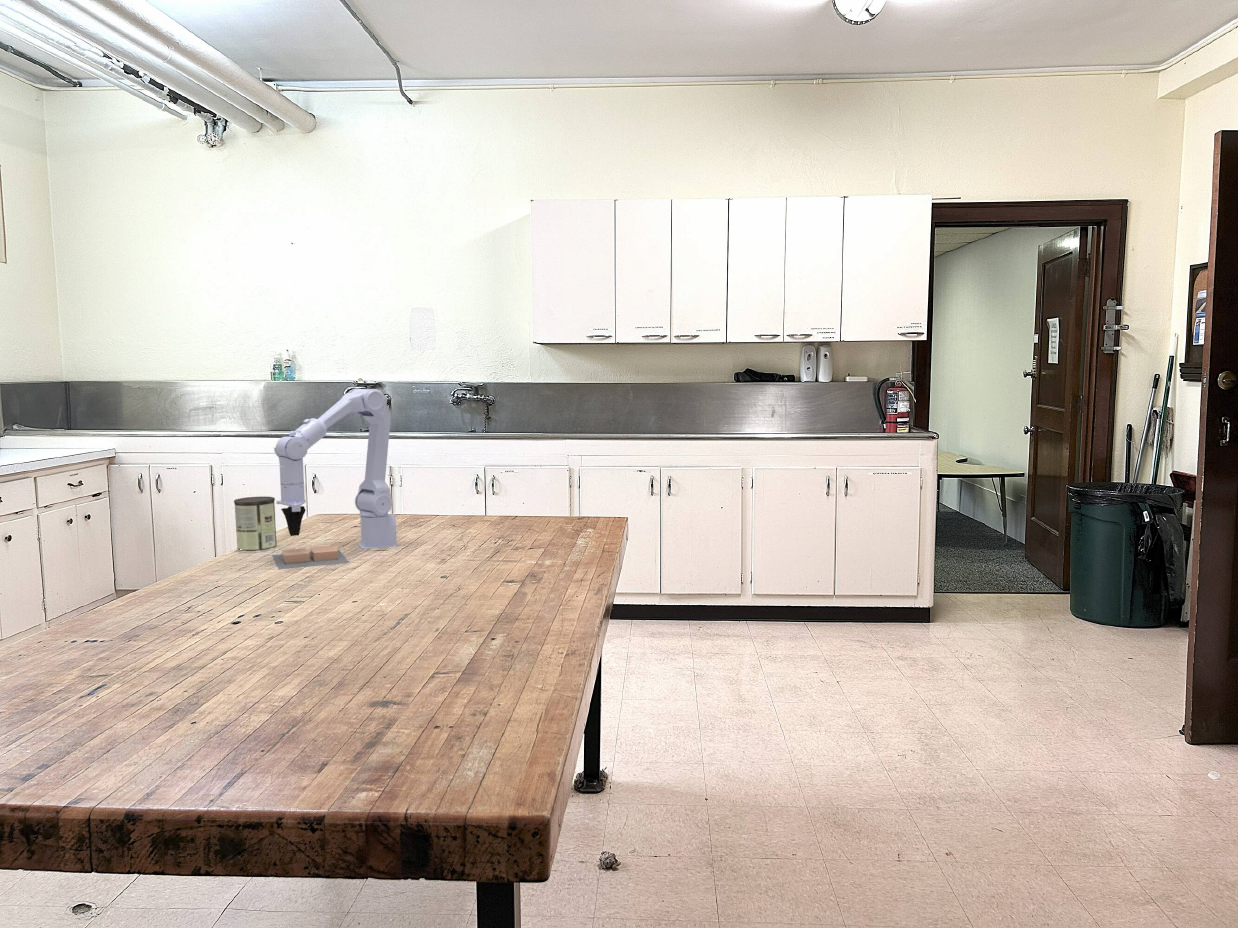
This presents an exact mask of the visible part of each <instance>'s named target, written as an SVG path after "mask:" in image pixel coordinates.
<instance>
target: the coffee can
mask: <svg viewBox="0 0 1238 928" xmlns="http://www.w3.org/2000/svg"><path fill="white" fill-rule="evenodd" d="M275 500H276V498H275V497H273V496H251V497H250V496H248V497H241V498H236V499H234V500H233V504H234V515H235V530H236V531H235V534H236V547H237V548H236V549H237V552H240V553H246V554H247V553H265V552H269V551H273V550H276V549H278V545H277V543H278V542H277V527H276V506H275V502H276V501H275ZM240 549H242V550H240ZM238 550H240V551H238Z"/></svg>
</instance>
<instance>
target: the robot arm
mask: <svg viewBox="0 0 1238 928" xmlns="http://www.w3.org/2000/svg"><path fill="white" fill-rule="evenodd" d="M387 403H388V398H387V397H386V395H385V394H384V393H383V392H382V391H381V390H379V389H378V388H377V389H376V388H371V389H369V388H359V387H358V388H352V389H351V390H349V392H347V393H345V394H344V395H342V397H341V398H340V399H339V400H338V401H337V402H336V403H335V404H334V405H332V406H331V407H330V408H329V409H327V410H326V411H325V412H324V413H323V414H322V415H320V416H319V417H318V418H313V417H312V418H306V419H304V420H303V421H302V423H303V424H302V425H300V426H299V427H298V428H296V429H295V430H290V432H289V435H288V436H282V437H281V438H279V439H278V440H277V441H276V445H275V447H273V450H274V453H275V455H276V456H277V457H278V462H279V480H280V481H279V483H280V499H279V500H276V501H275V503H276V505H282V506H287V507H284V508H283V507H282V508H281V511H282V513H283V515H284V518H285V521H286V524H287V529H288V534H289V536H291V537H296V536H300V533H301V532H300V531H301V525H302V521H303V518H304V515H305V512H306V508H305V506H303V505H304V504H306V499H305V498H306V497H305V479H304V478H305V477H304V476H305V475H304V474H305V473H304V458H305V457H306V455H307V454H308V450H309V449H310V448H311V447H313V446H314V445H315V444H316V443H318V442H319V441H321V440H322V439H323V438H324V437H326V435H327V430H328V428H329V427H331V426H333V425H334V424H336V423H337V422H338V421H341V420H342V418H345V417H346V416H347V415H348V414H350V413H357V414H359V415H361V416H362V417H363V418H364V419H365V420H366V422H368V424H369V428H368V440H367V450H366V451H367V452H366V461H365V463H366V464H365V471H364V472H365V474H364V479H363V481H362V482H361V483H360V484H359V489H358V492H357V494H356V495H355V498H354V505H355V507H356V509H357V510H358V511H359V515H360V542H358V543H357V545H358V546H359V547H360V548H361V549H362V550H368V549H369V550H370V549H381V548H392V547H398V544H397V541H398V540H397V539H398V538H397V520H396V515H395V514H392V513H390V511H391V509H392V505H393V500H392V497H391V489H390V488H391V487H390V486H389V485H388V484H387V481H386V475H387V474H386V472H387V462H388V454H389V453H388V451H389V442H390V441H389V440H390V430H391V429H390V428H391V416H390V411H389V408H388V406H387ZM389 513H390V514H389Z"/></svg>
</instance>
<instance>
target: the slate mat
mask: <svg viewBox="0 0 1238 928" xmlns="http://www.w3.org/2000/svg"><path fill="white" fill-rule="evenodd" d="M337 550H338V559H334V560H323V561H314V560H313V558H312V557H311V554H310V561H309V562H301V563H289V564H286V563H285V562H284V560H283V558H282V553H281V554H280V553H279V554H272V555H271V556H272V558H273V561H274V563H275V564H276V567H277V569H278V570H287V569H297V568H307V567H308V568H309V567H320V566H329V565H330V566H332V565H339V564H340V565H341V564H342V565H343V564H350V563H351V562H350V561H349V559H347V557H346V556H345V555H344V553H342V551H341V550H340V549H337ZM308 552H309V553H310V551H308Z"/></svg>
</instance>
